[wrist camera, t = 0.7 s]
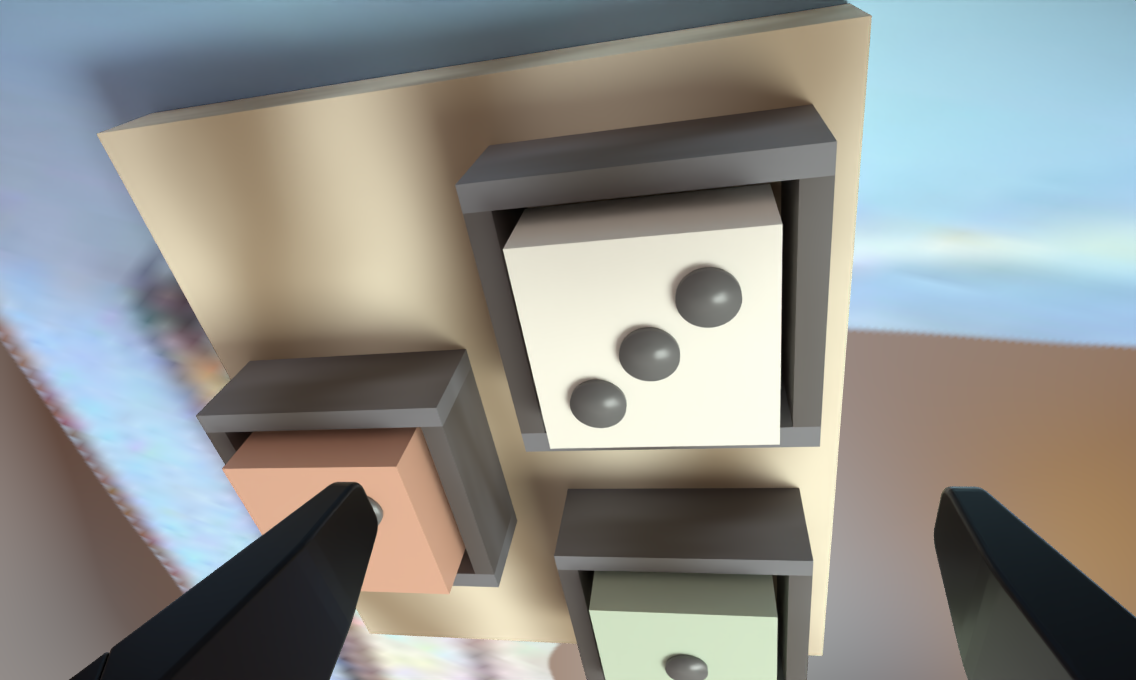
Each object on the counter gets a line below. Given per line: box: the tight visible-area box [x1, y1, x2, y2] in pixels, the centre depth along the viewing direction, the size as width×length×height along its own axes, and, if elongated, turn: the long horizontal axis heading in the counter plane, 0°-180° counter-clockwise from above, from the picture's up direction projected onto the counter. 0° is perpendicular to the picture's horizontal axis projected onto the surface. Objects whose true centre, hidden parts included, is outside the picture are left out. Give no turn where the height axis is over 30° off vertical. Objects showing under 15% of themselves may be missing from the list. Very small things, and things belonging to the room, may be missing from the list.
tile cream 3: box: [503, 184, 783, 449], centre depth 14 cm, size 5×5×2 cm
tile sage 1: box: [589, 571, 778, 680], centre depth 19 cm, size 5×5×2 cm
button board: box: [97, 3, 872, 680], centre depth 19 cm, size 18×21×5 cm
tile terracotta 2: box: [222, 427, 466, 594], centre depth 18 cm, size 5×5×2 cm
